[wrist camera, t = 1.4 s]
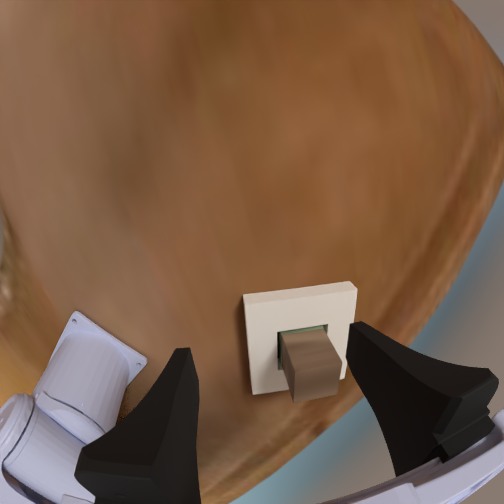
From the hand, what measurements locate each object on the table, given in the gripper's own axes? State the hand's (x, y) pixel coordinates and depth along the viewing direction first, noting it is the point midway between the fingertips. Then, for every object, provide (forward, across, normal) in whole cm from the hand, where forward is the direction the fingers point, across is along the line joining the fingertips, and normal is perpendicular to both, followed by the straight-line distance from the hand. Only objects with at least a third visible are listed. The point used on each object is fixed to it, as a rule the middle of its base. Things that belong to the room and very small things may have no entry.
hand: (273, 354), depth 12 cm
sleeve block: (+10, -4, +8) cm, 13 cm away
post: (+10, -4, +8) cm, 13 cm away
